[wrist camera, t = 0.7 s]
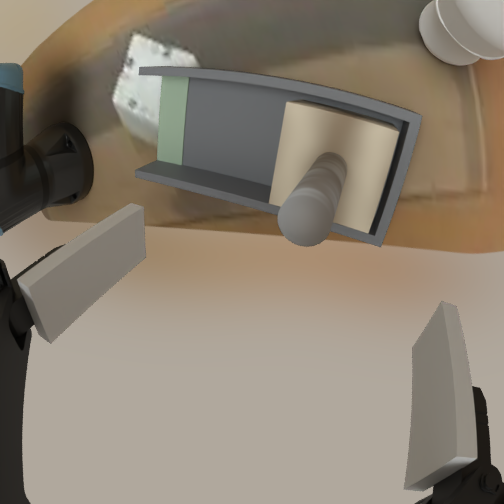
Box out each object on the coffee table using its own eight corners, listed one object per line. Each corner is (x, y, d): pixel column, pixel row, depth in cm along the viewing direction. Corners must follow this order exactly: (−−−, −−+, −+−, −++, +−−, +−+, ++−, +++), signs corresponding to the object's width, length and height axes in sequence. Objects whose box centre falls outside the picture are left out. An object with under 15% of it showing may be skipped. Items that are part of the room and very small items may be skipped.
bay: (161, 164, 42) (135, 177, 37) (168, 66, 35) (139, 67, 30) (380, 223, 36) (380, 247, 31) (413, 111, 28) (422, 115, 23)
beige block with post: (286, 182, 36) (213, 267, 21) (302, 99, 31) (229, 113, 16) (369, 207, 34) (360, 316, 19) (393, 123, 29) (420, 163, 13)
